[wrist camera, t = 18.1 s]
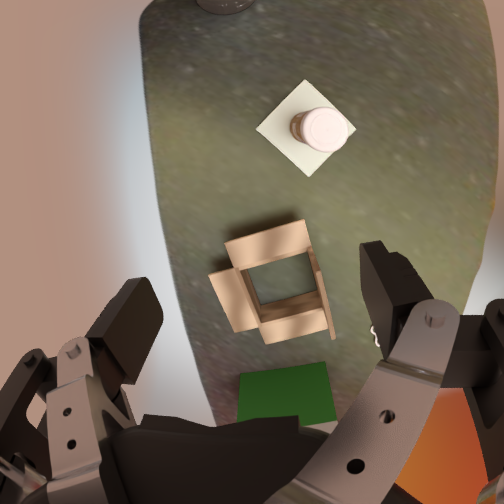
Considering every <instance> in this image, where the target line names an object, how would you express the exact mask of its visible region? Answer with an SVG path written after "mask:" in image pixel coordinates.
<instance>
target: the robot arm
mask: <svg viewBox="0 0 504 504" xmlns="http://www.w3.org/2000/svg"><path fill="white" fill-rule="evenodd" d="M196 1H197V3H198V5H199V6H200V7H201V8H202V9H204V10H206V11H207V12H210V13H213V14H218V15H228V14H234V13H237V12H240V11H242V10H244V9H246V8H248V7H249V6H250V5H251V4H252V3H253V2H254V1H255V0H196ZM359 251H360V277H361V290H362V295H363V298H364V301H365V304H366V307H367V310H368V312H369V315H370V318H371V321H372V324H373V327H374V330H375V333H376V336H377V339H378V342H379V345H380V348H381V351H382V354H383V358H384V360H383V359H382V360H380V361H379V362H378V364H377V365H376V367H375V368H374V370H373V372H372V373H371V375H370V377H369V378H368V380H367V381H366V383H365V385H364V386H363V388H362V389H361V391H360V393H359V394H358V396H357V397H356V399H355V400H354V402H353V403H352V405H351V406H350V408H349V409H348V410H347V412H346V413H345V415H344V416H343V418H342V419H341V420H340V422H339V423H338V425H337V426H336V427H335V429H334V430H333V431H332V433H331V434H330V433H328V432H325V431H322V430H319V429H315V428H311V427H304V426H301V425H300V420H299V415H293V416H280V417H264V418H253V419H249V420H245V421H241V422H237V423H232V424H228V425H223V426H218V427H208V426H205V425H201V424H198V423H194V422H191V421H187V420H184V419H181V418H178V417H171V416H158V415H148V414H144V416H143V419H142V421H141V424H140V425H137V424H136V422H135V419H134V416H133V413H132V411H131V408H130V405H129V402H128V399H127V396H126V393H125V391H124V390H123V389H122V387H121V384H131V385H135V383H136V381H137V378H138V376H139V374H140V372H141V369H142V367H143V365H144V362H145V360H146V358H147V356H148V354H149V351H150V349H151V347H152V345H153V343H154V341H155V338H156V336H157V334H158V332H159V330H160V327H161V325H162V323H163V311H162V308H161V305H160V303H159V301H158V299H157V297H156V294H155V292H154V290H153V288H152V285H151V283H150V281H149V280H148V279H147V278H146V277H140V278H133V279H128V280H127V281H126V282H125V284H124V285H123V286H122V288H121V289H120V291H119V292H118V293H117V295H116V296H115V297H114V298H112V299H111V300H110V301H109V303H108V304H107V305H106V307H105V308H104V310H103V311H102V312H101V314H100V317H98V318H97V319H96V321H95V322H94V324H93V325H92V327H91V328H90V330H89V331H88V332H87V334H86V335H85V337H77V338H74V339H72V340H70V341H68V342H67V343H66V344H64V346H62V348H61V349H60V350H59V353H58V355H57V356H56V357H52V358H47V357H46V355H45V354H44V352H43V351H42V350H41V349H33V350H31V351H29V352H28V353H26V354H25V355H24V356H23V357H22V358H21V360H20V361H19V363H18V364H17V366H16V367H15V369H14V370H13V372H12V373H11V375H10V376H9V378H8V379H7V381H6V383H5V384H4V386H3V388H2V389H1V391H0V504H422V503H421V502H419V501H418V500H417V499H415V498H414V497H412V496H411V495H410V494H409V493H407V492H406V491H405V490H404V489H402V488H401V487H400V486H398V485H397V484H396V483H395V480H396V478H397V477H398V475H399V473H400V472H401V470H402V468H403V466H404V465H405V463H406V461H407V459H408V457H409V455H410V454H411V452H412V450H413V448H414V446H415V444H416V442H417V440H418V438H419V435H420V434H421V431H422V429H423V427H424V425H425V423H426V421H427V418H428V416H429V414H430V411H431V409H432V406H433V404H434V402H435V399H436V396H437V394H438V391H439V389H440V388H463V390H464V393H465V396H466V399H467V402H468V405H469V407H470V411H471V414H472V417H473V420H474V424H475V427H476V431H477V434H478V438H479V441H480V445H481V449H482V454H483V458H484V462H485V467H486V471H487V476H488V481H489V482H488V483H487V484H486V485H485V487H484V488H483V489H482V491H481V492H480V494H479V496H478V499H477V502H476V504H504V299H495V300H493V301H491V302H490V303H489V304H488V305H487V306H486V309H485V312H484V315H459V312H458V311H457V309H456V308H455V307H454V306H453V305H452V304H450V303H448V302H446V301H443V300H438V299H434V297H433V296H432V294H431V293H430V291H429V290H428V288H427V287H426V285H425V284H424V282H423V280H422V279H421V278H420V276H419V275H418V273H417V272H416V270H415V269H414V268H413V266H412V264H411V263H410V262H409V260H408V259H407V258H406V257H404V256H403V255H401V254H399V253H398V252H392V253H389V252H388V250H387V249H386V247H385V246H384V244H383V243H382V241H380V240H379V241H373V242H366V243H361V244H360V247H359ZM35 393H37V394H38V395H39V396H40V397H41V398H42V400H43V401H44V402H45V403H46V405H47V409H46V411H45V413H44V415H43V417H42V419H41V421H40V423H39V425H38V427H37V429H36V428H35V427H34V426H33V425H32V424H30V423H29V421H28V419H27V417H26V411H27V408H28V406H29V404H30V403H31V401H32V399H33V397H34V395H35Z"/></svg>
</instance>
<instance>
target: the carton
mask: <svg viewBox="0 0 504 504" xmlns="http://www.w3.org/2000/svg"><path fill="white" fill-rule="evenodd" d="M224 244H225V247H226V249H227V252H228V254H229V257H230V259H231V262H232V264H233V268H229V269H225V270H222V271H218V272H215V273H211V274H209V275H208V276H209V278H210V281H211V283H212V285H213V287H214V289H215V291H216V294H217V296H218V298H219V300H220V302H221V304H222V307H223V309H224V311H225V313H226V315H227V317H228V319H229V321H230V323H231V325H232V328H233V330H234V332H235V333H236V332H240V331H244V330H249V329H253V328H257V327H259V330H260V332H261V334H262V337H263V339H264V341H265V344H270V343H274V342H278V341H283V340H287V339H291V338H295V337H298V336H302V335H306V334H310V333H314V332H317V331H321V330H325V329H328V328H329V331H330V335H331V339H332V340H333V339H336V336H335V331H334V327H333V322H332V318H331V313H330V309H329V304H328V300H327V295H326V291H325V287H324V283H323V279H322V274H321V270H320V268H319V265H318V262H317V260H316V257H315V254H314V252H313V249H312V246H311V243H310V239H309V235H308V232H307V228H306V224H305V221H304V219H301V220H297V221H294V222H291V223H287V224H284V225H280V226H277V227H274V228H270V229H267V230H264V231H260V232H257V233H254V234H250V235H247V236H244V237H240V238H237V239H234V240H230V241H227V242H224ZM304 252H308V256H309V259H310V263H311V267H312V271H313V274H314V278H315V282H316V286H317V290H316V291H313V292H309V293H306V294H302V295H298V296H295V297H291V298H287V299H284V300H280V301H276V302H272V303H269V304H265V305H261V304H260V302H259V299H258V297H257V294H256V291H255V289H254V286H253V284H252V281H251V278H250V276H249V273H248V271H247V269H248V268H251V267H255V266H258V265H262V264H265V263H269V262H272V261H276V260H279V259H283V258H286V257H290V256H293V255H297V254H300V253H304Z"/></svg>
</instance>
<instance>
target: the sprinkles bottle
mask: <svg viewBox="0 0 504 504" xmlns="http://www.w3.org/2000/svg"><path fill="white" fill-rule="evenodd" d="M290 132H291V134H292V136H293V137H294V138H295V139H296V140H297V141H299V142H301V143H304V144H307V145H308V146H310V147H311V148H313V149H314V150H317V151H320V152H327V153H328V152H333V151H336V150H338V149H339V148H341V147H342V146H343V145H344V143H345V142H346V140H347V138H348V133H349V130H348V124H347V121H346V119H345V118H344V116H343V115H342V114H341V113H340V112H339V111H337V110H335V109H333V108H330V107H317V108H314V109H312V110H309V111H305V112H301V113H298V114H297V115H295V116H294V117H293V118H292V120H291V122H290Z"/></svg>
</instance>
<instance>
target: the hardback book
mask: <svg viewBox="0 0 504 504" xmlns="http://www.w3.org/2000/svg"><path fill="white" fill-rule="evenodd" d="M293 415H299V420H300V425H301V426H304V427H311V428H315V429H319V430H322V431H325V432H328V433H330V434H331V433H332V431H333V430H334V429H335V427H336V426H337V425H338V422H337V417H336V412H335V407H334V402H333V397H332V392H331V387H330V383H329V378H328V373H327V369H326V364H325V361H324V362H318V363H313V364H307V365H301V366H295V367H288V368H281V369H274V370H267V371H258V372H250V373H240V386H239V399H238V413H237V422H241V421H245V420H249V419H253V418H264V417H280V416H293Z"/></svg>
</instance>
